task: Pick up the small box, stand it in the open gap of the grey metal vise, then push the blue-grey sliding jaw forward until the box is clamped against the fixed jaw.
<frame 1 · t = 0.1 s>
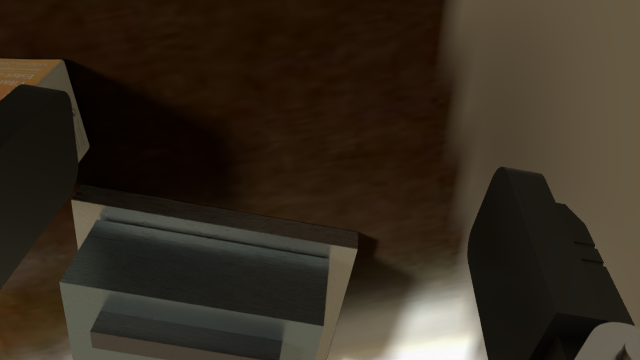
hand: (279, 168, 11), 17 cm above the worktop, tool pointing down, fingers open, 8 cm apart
vise base: (211, 346, 43), on the worktop
sliding jaw: (198, 334, 34), point 5 cm above the worktop, slide at 0.0 cm
small box: (11, 100, 31), on the worktop
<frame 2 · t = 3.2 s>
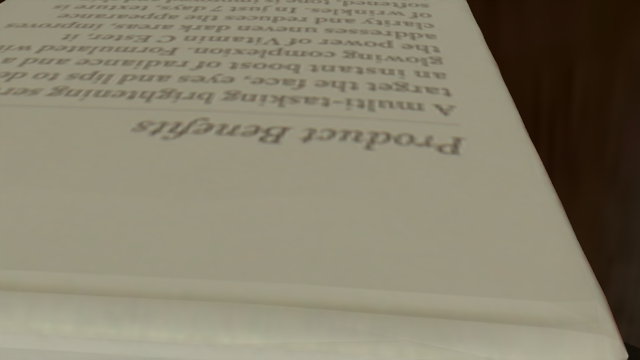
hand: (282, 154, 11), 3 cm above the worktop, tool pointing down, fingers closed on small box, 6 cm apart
small box: (299, 89, 13), on the worktop, touching gripper
when the fingers open (5 cm above the worktop, at t = 9.6 s): small box stays where it is, resting on vise base.
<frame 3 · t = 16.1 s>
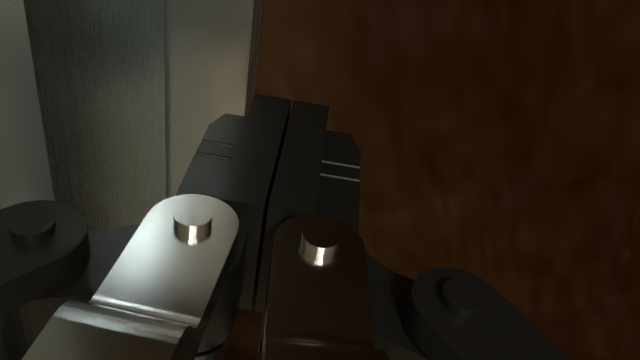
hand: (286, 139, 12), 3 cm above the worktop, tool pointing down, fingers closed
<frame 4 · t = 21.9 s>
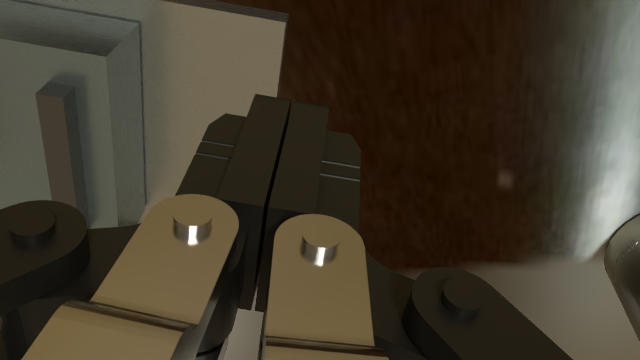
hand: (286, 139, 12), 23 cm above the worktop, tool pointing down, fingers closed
vise base: (68, 100, 38), on the worktop
sliding jaw: (42, 138, 34), point 5 cm above the worktop, slide at 7.4 cm
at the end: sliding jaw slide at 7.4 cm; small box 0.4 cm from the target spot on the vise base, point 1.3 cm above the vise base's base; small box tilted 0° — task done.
